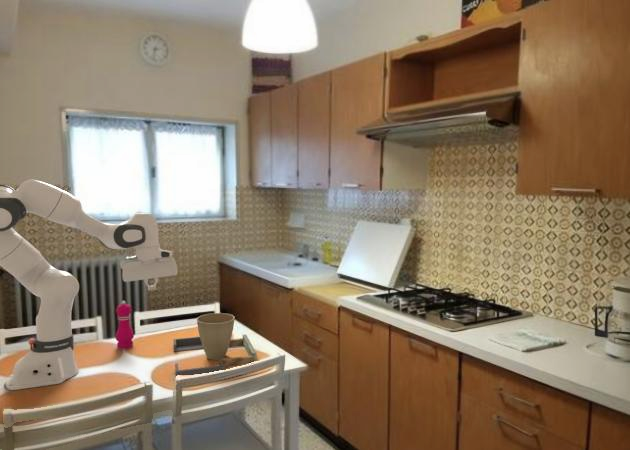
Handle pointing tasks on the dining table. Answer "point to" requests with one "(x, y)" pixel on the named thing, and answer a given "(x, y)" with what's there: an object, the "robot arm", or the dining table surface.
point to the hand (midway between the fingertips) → (152, 290)
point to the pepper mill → (124, 327)
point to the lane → (241, 360)
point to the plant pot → (215, 333)
